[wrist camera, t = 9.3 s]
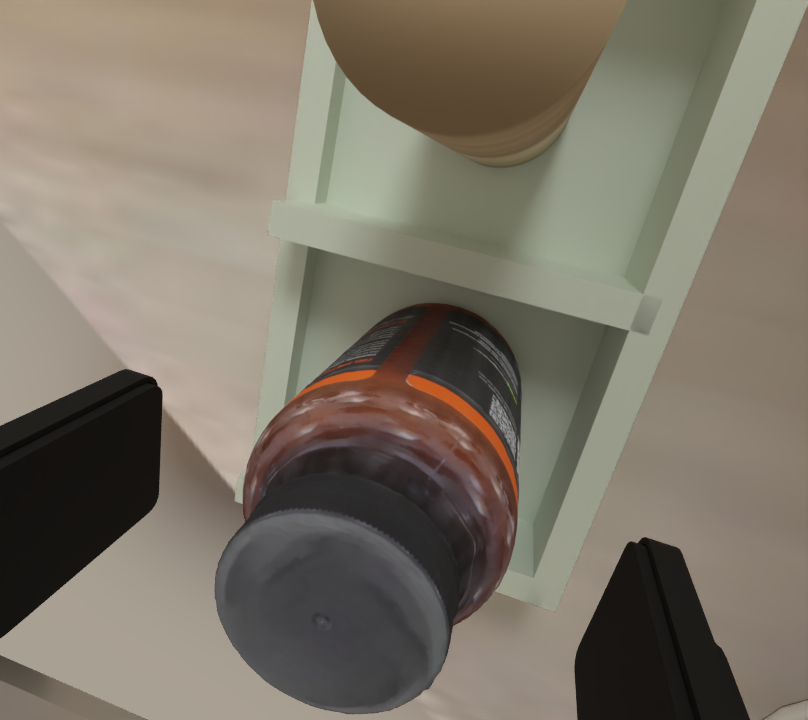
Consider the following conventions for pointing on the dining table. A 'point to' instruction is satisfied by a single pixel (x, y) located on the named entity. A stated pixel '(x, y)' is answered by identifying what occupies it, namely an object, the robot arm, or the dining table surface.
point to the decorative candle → (791, 712)
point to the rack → (530, 242)
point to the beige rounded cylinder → (472, 66)
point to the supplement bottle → (378, 513)
